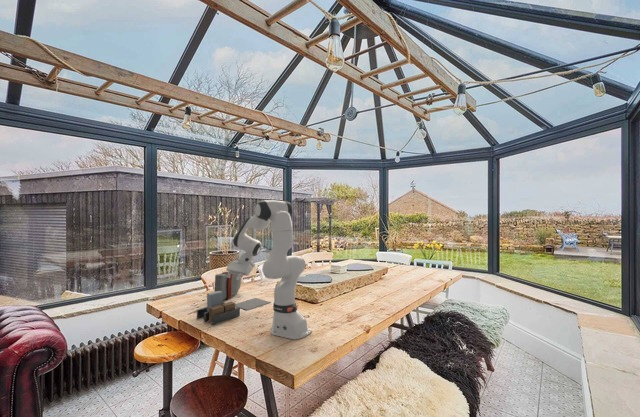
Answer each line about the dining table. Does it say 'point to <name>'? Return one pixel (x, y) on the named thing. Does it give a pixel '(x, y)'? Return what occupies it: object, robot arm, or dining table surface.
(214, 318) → the rack
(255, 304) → the mat
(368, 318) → the dining table surface
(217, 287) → the decorative stone tablet
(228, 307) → the offcut
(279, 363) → the dining table surface
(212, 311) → the offcut
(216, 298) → the panel
